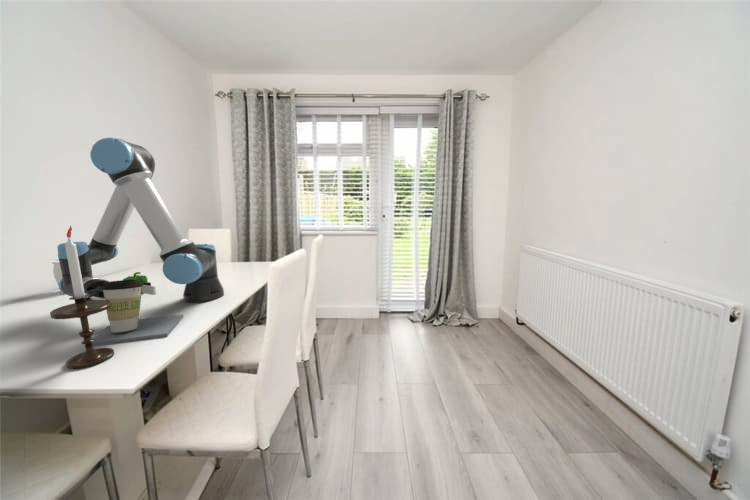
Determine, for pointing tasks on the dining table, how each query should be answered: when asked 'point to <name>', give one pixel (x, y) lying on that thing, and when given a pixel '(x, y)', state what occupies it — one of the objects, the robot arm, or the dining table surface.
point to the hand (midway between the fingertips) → (131, 296)
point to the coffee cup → (123, 304)
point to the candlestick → (82, 314)
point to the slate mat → (140, 330)
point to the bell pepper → (137, 278)
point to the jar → (57, 271)
